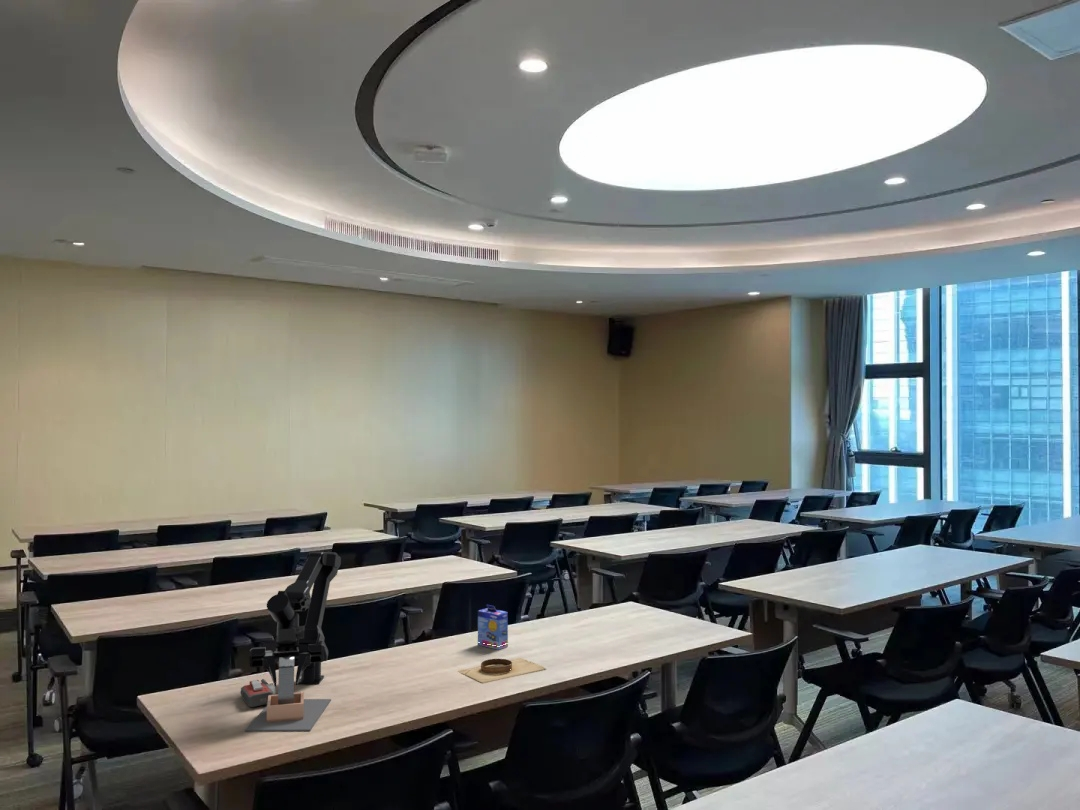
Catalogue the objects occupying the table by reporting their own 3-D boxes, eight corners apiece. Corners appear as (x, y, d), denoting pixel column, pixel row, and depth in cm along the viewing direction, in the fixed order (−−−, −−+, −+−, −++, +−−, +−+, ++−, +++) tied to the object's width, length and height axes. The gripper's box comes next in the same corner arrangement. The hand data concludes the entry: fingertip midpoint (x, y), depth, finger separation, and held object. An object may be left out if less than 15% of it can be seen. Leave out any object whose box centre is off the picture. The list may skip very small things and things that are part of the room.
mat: (272, 700, 213) (272, 699, 213) (331, 700, 213) (331, 699, 214) (244, 731, 191) (244, 729, 191) (310, 731, 192) (310, 729, 192)
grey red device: (283, 702, 210) (266, 684, 227) (283, 685, 210) (266, 669, 227) (249, 709, 205) (234, 690, 222) (249, 692, 205) (234, 674, 222)
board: (480, 686, 229) (481, 675, 229) (454, 673, 241) (454, 663, 241) (547, 671, 244) (547, 661, 244) (519, 659, 256) (519, 650, 256)
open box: (268, 710, 204) (268, 695, 204) (303, 707, 207) (303, 692, 207) (266, 722, 196) (266, 706, 196) (303, 719, 198) (303, 703, 198)
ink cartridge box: (476, 645, 270) (476, 603, 271) (486, 642, 275) (487, 601, 276) (498, 650, 265) (498, 607, 265) (508, 646, 269) (508, 604, 270)
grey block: (278, 710, 202) (279, 655, 203) (293, 709, 203) (294, 654, 204) (277, 715, 199) (278, 659, 200) (293, 714, 200) (294, 658, 201)
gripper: (250, 617, 203) (246, 672, 192) (324, 613, 209) (324, 666, 198) (251, 639, 210) (248, 693, 200) (322, 635, 216) (323, 687, 205)
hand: (286, 684), depth 200 cm, fingers open, 5 cm apart
